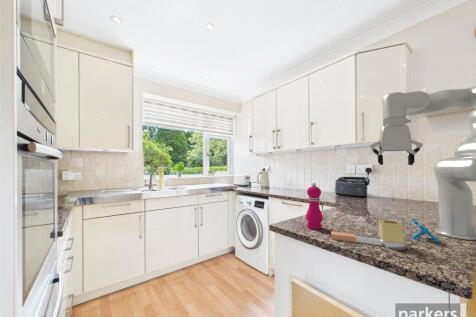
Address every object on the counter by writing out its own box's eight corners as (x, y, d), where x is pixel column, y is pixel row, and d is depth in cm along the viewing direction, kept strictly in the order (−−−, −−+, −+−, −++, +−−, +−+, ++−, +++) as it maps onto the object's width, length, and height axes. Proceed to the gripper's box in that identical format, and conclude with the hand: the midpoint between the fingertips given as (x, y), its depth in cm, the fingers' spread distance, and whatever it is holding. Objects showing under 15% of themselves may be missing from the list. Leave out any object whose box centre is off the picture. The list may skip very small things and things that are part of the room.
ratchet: (401, 244, 71) (400, 228, 71) (408, 251, 65) (407, 234, 65) (331, 235, 80) (331, 221, 80) (331, 240, 74) (331, 225, 74)
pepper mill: (311, 224, 95) (310, 182, 96) (326, 228, 89) (325, 183, 90) (302, 227, 90) (302, 182, 91) (317, 231, 85) (317, 183, 86)
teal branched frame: (443, 242, 68) (414, 217, 74) (427, 252, 70) (400, 227, 76) (439, 239, 76) (414, 217, 82) (425, 247, 78) (401, 225, 84)
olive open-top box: (398, 238, 71) (397, 221, 72) (403, 243, 66) (403, 225, 66) (378, 235, 74) (378, 219, 74) (382, 240, 68) (382, 223, 69)
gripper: (417, 123, 82) (419, 165, 81) (368, 126, 90) (369, 165, 89) (425, 119, 76) (427, 164, 75) (370, 123, 83) (371, 164, 82)
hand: (395, 164), depth 82 cm, fingers open, 9 cm apart
